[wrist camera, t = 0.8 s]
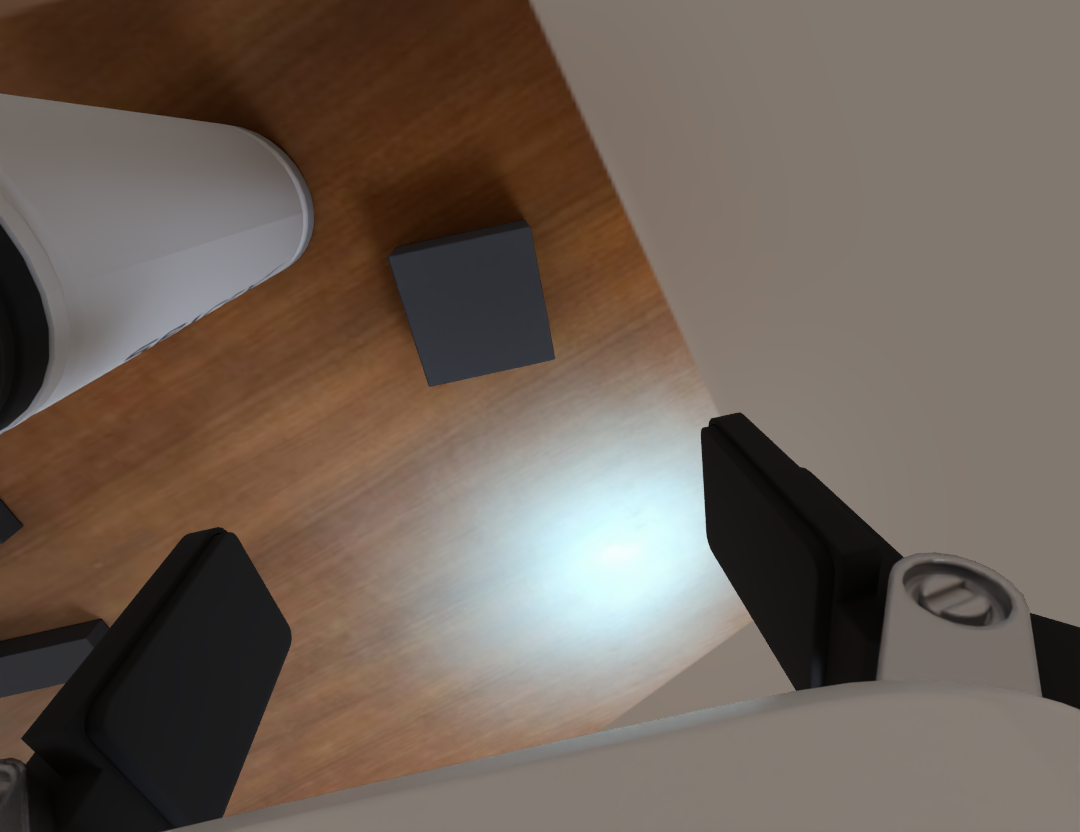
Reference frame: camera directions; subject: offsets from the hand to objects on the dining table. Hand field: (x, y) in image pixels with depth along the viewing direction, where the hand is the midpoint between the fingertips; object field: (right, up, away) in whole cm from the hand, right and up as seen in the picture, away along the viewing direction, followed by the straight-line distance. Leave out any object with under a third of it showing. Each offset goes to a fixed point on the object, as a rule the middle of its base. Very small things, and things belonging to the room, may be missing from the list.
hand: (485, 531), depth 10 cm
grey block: (-2, +8, +16) cm, 18 cm away
